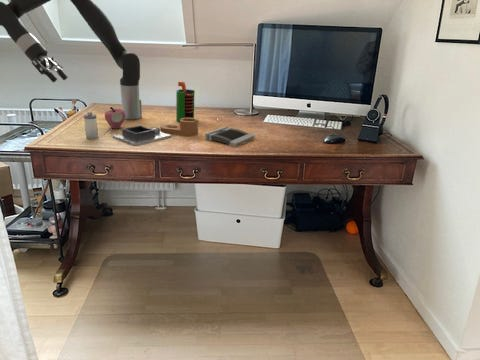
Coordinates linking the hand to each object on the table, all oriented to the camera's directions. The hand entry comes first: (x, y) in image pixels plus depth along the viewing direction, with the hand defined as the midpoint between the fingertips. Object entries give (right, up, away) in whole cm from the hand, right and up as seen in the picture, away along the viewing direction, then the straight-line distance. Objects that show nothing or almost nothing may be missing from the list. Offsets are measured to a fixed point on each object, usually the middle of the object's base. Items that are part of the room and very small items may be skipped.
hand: (60, 79), depth 162 cm
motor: (+46, -11, +44) cm, 64 cm away
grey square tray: (+70, -23, +17) cm, 76 cm away
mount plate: (+31, -23, +12) cm, 40 cm away
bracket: (+46, -20, +22) cm, 55 cm away
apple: (+15, -17, +25) cm, 34 cm away
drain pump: (+10, -23, +8) cm, 27 cm away
